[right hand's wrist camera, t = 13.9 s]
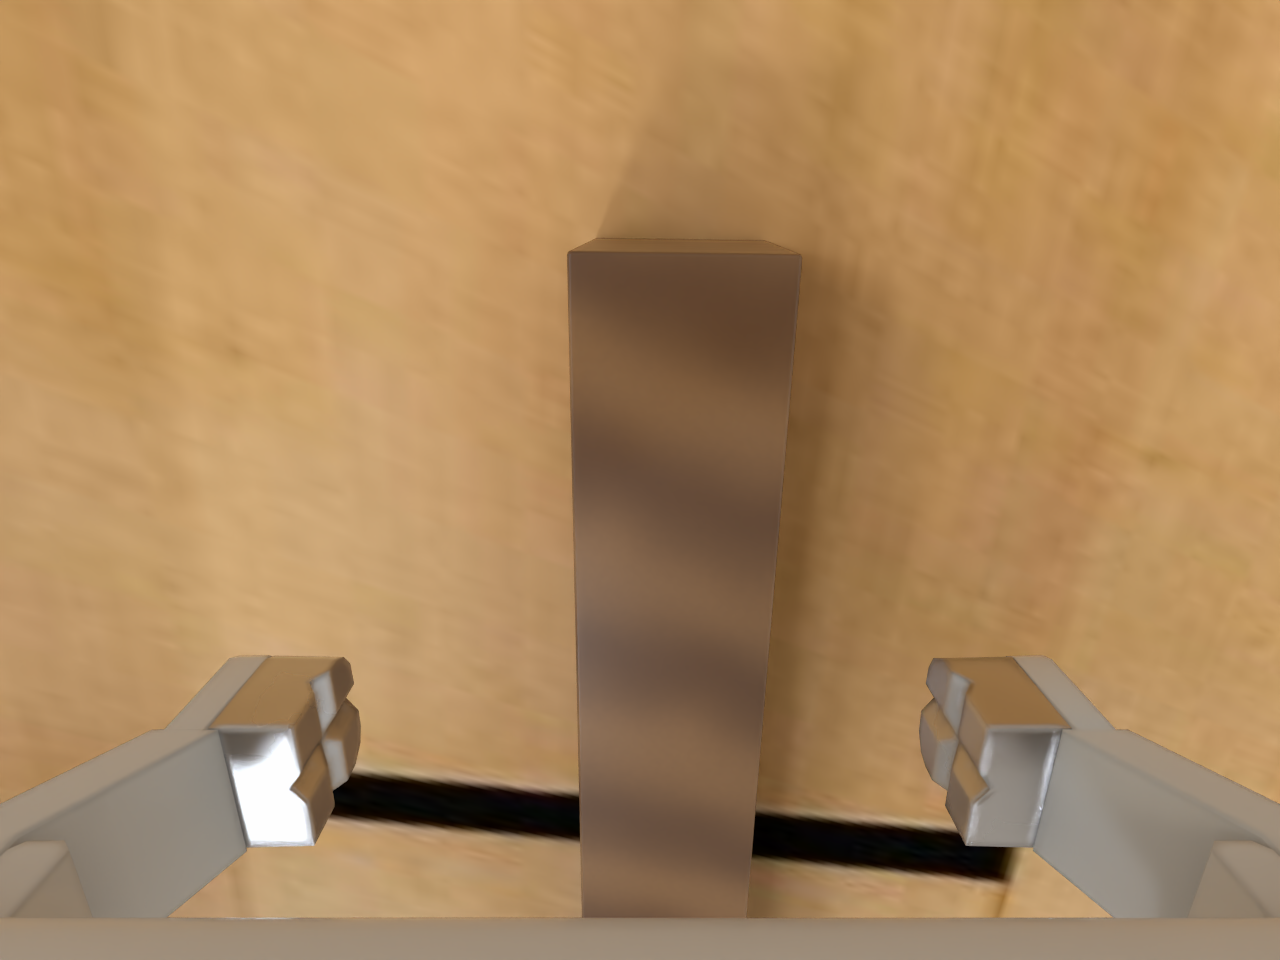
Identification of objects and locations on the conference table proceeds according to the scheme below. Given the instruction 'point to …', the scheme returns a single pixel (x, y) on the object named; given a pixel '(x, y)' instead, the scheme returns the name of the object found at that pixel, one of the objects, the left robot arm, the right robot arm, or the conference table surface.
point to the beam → (675, 559)
